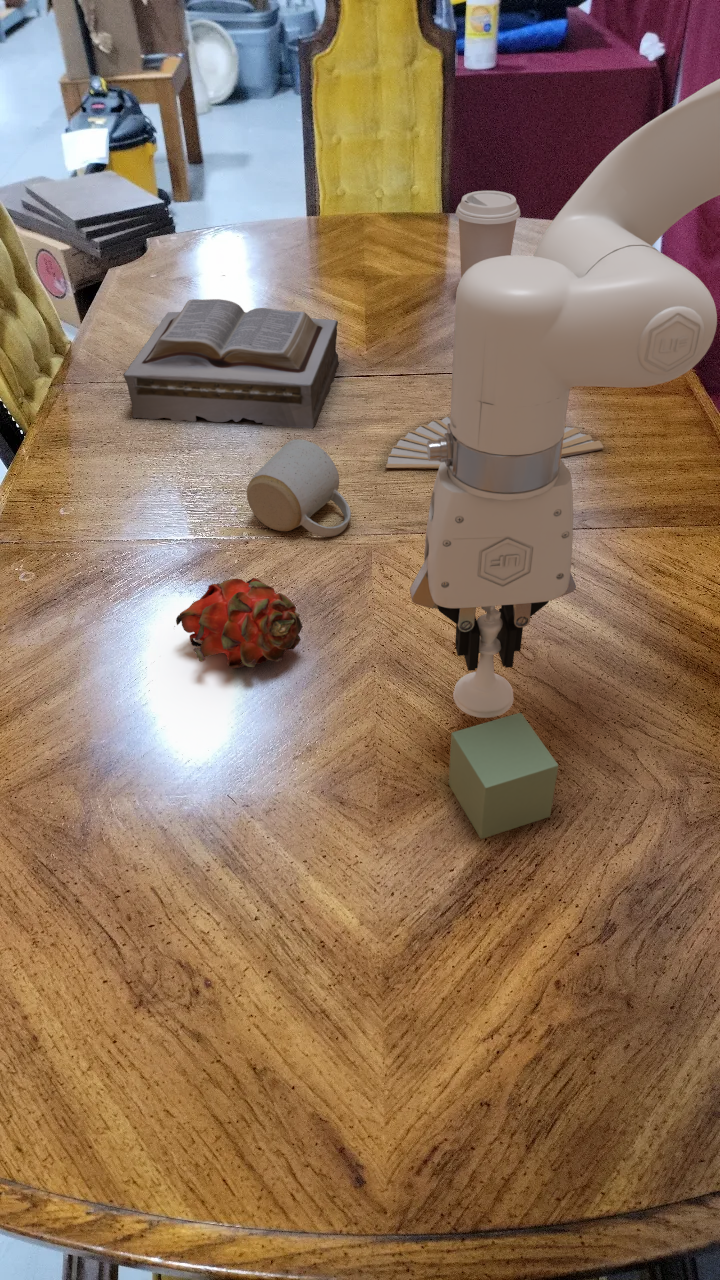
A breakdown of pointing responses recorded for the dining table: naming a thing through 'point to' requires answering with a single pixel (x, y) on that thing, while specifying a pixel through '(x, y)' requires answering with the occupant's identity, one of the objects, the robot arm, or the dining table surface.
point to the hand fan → (415, 443)
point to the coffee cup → (486, 226)
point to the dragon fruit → (242, 623)
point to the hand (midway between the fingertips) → (486, 656)
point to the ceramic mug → (297, 489)
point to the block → (502, 774)
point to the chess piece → (485, 674)
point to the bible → (235, 366)
